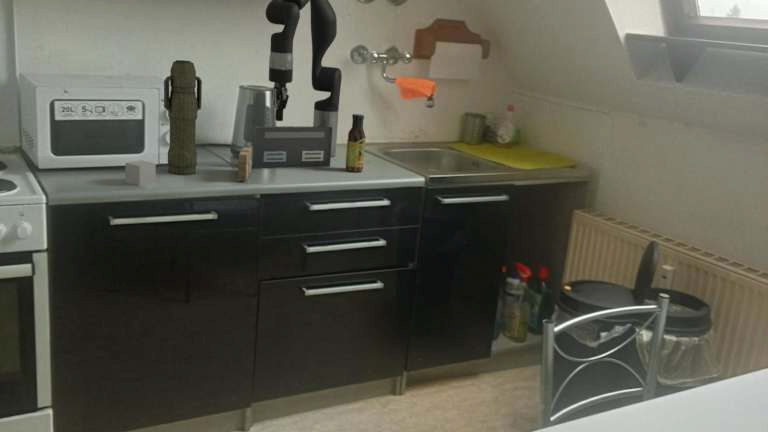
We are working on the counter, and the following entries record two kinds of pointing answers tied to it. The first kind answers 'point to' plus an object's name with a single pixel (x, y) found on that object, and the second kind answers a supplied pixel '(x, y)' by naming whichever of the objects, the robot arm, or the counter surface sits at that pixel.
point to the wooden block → (245, 163)
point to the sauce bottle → (355, 145)
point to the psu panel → (291, 146)
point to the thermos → (182, 116)
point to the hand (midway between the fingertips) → (279, 120)
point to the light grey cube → (140, 172)
